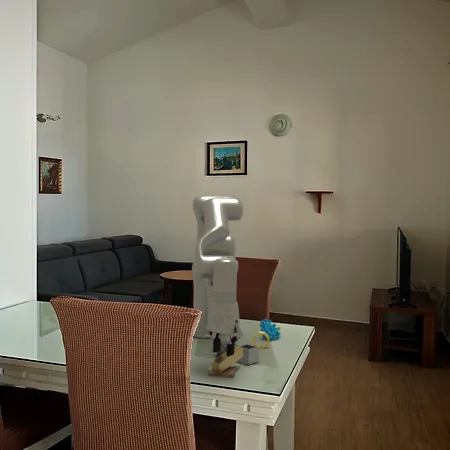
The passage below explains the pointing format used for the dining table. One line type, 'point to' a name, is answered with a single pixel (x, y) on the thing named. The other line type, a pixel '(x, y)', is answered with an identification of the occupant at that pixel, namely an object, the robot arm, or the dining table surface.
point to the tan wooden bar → (226, 360)
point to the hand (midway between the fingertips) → (223, 353)
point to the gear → (270, 329)
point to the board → (224, 372)
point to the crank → (248, 353)
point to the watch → (261, 334)
